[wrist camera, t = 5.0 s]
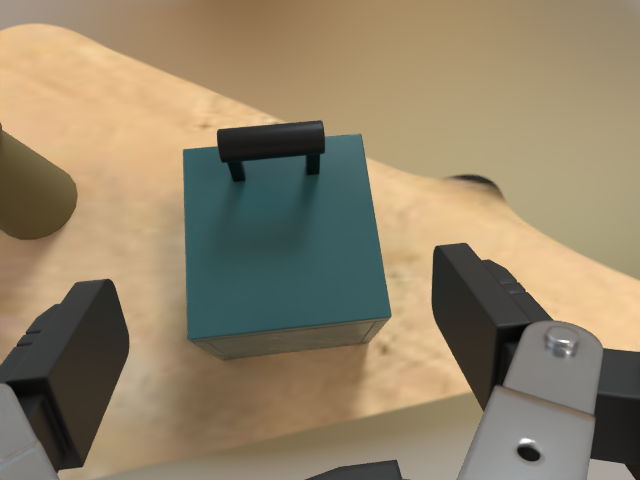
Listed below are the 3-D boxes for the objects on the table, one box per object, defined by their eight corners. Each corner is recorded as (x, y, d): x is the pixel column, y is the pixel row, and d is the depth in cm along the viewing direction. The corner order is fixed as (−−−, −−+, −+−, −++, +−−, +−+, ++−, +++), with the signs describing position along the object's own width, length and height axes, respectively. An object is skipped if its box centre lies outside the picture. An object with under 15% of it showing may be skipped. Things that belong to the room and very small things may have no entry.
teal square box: (214, 221, 36) (186, 164, 27) (349, 208, 36) (361, 148, 28) (220, 360, 32) (191, 342, 24) (369, 343, 33) (389, 320, 25)
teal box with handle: (185, 156, 28) (161, 105, 23) (360, 140, 28) (369, 88, 24) (190, 342, 24) (163, 325, 20) (389, 319, 25) (407, 299, 20)
